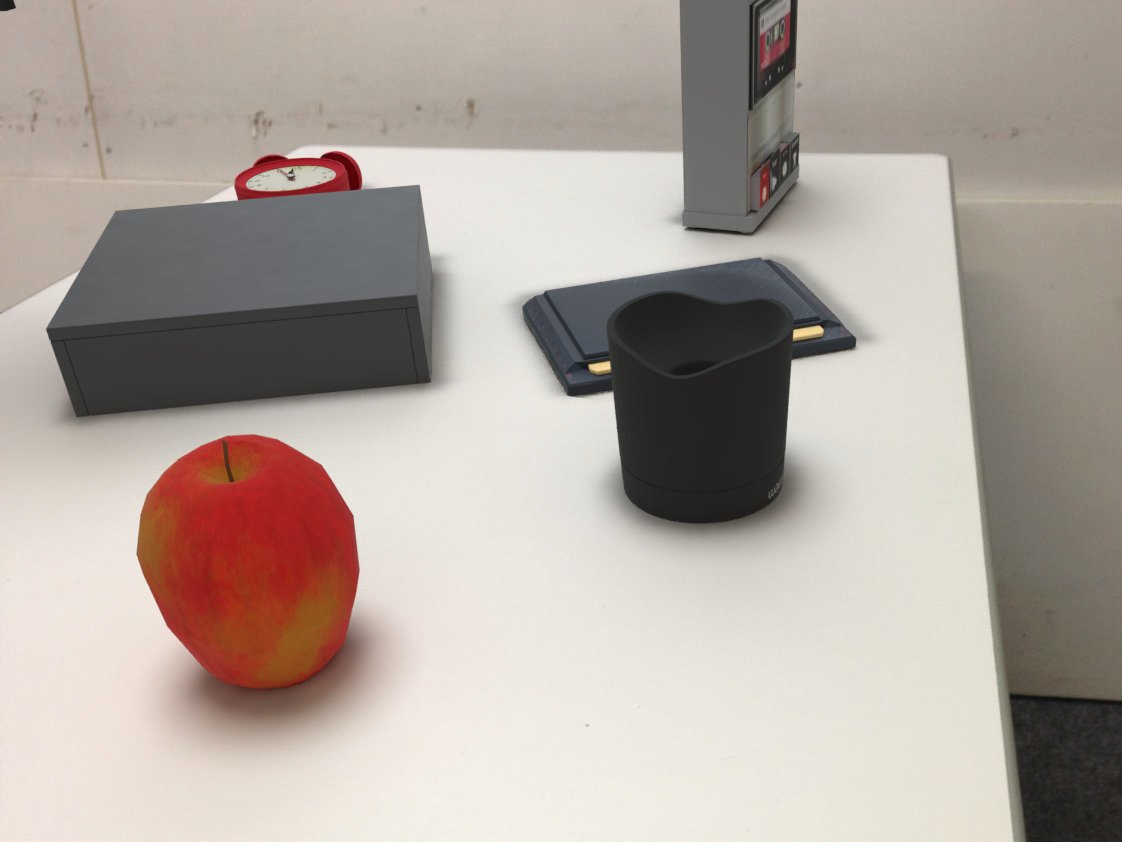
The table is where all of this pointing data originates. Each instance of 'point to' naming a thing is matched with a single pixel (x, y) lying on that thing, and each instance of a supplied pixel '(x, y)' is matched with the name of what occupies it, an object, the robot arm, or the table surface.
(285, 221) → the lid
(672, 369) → the pen holder
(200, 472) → the apple
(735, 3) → the cassette tape recorder
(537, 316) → the wallet
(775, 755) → the table surface
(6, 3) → the robot arm
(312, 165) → the alarm clock
